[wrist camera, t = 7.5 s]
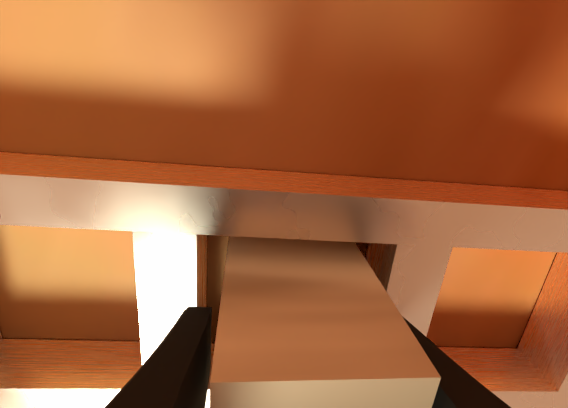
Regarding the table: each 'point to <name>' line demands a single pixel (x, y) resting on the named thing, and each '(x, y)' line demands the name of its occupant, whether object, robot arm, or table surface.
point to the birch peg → (312, 332)
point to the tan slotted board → (285, 225)
